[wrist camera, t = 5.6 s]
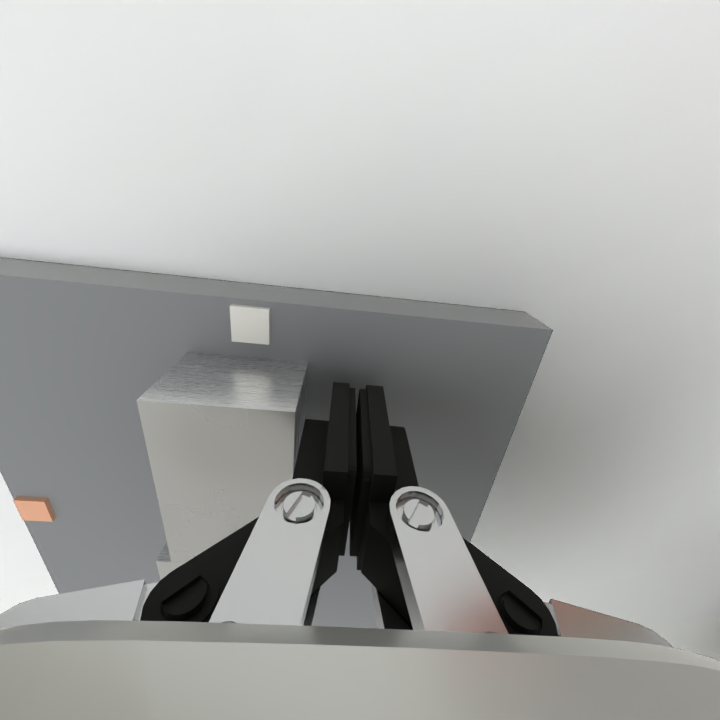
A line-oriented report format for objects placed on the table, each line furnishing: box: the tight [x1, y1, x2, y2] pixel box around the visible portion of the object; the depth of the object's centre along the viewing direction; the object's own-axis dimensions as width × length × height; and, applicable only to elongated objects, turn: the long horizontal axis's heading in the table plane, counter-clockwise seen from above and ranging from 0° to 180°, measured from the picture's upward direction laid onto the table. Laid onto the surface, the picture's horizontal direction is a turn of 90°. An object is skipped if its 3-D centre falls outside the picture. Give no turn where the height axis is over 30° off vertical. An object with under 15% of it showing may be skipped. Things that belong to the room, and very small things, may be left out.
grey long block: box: [136, 352, 308, 580], centre depth 13 cm, size 5×16×3 cm, turn 174°
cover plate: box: [0, 257, 553, 629], centre depth 14 cm, size 20×20×6 cm
